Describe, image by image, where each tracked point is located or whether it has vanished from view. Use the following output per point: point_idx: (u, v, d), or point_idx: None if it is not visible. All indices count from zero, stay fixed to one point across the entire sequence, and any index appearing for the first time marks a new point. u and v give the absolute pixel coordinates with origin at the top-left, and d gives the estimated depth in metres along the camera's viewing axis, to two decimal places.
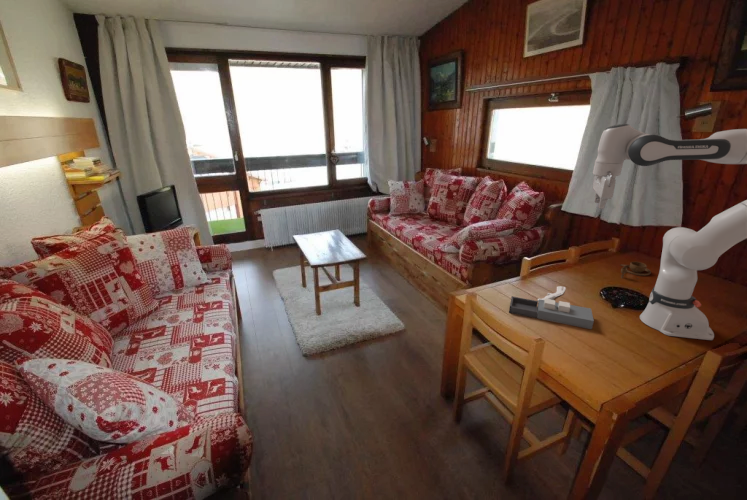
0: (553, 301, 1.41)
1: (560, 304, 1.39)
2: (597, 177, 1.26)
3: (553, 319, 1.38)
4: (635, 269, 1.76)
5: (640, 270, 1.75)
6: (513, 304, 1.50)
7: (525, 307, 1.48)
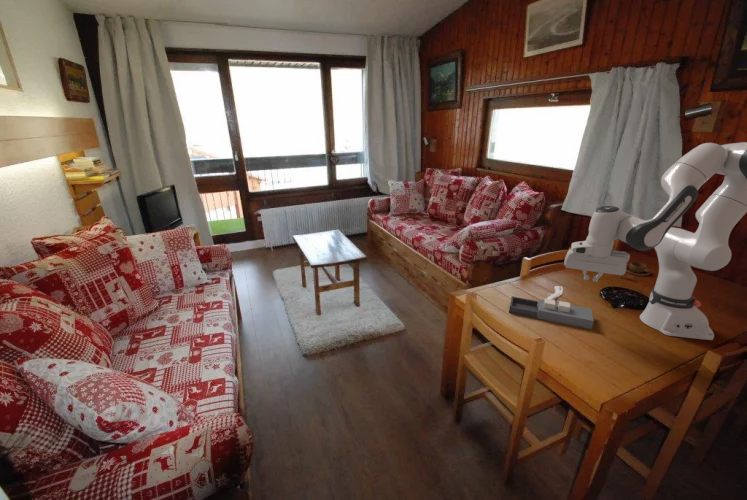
0: (553, 301, 1.41)
1: (560, 304, 1.39)
2: (601, 258, 1.24)
3: (553, 319, 1.38)
4: (634, 269, 1.76)
5: (639, 270, 1.75)
6: (513, 304, 1.50)
7: (525, 307, 1.48)
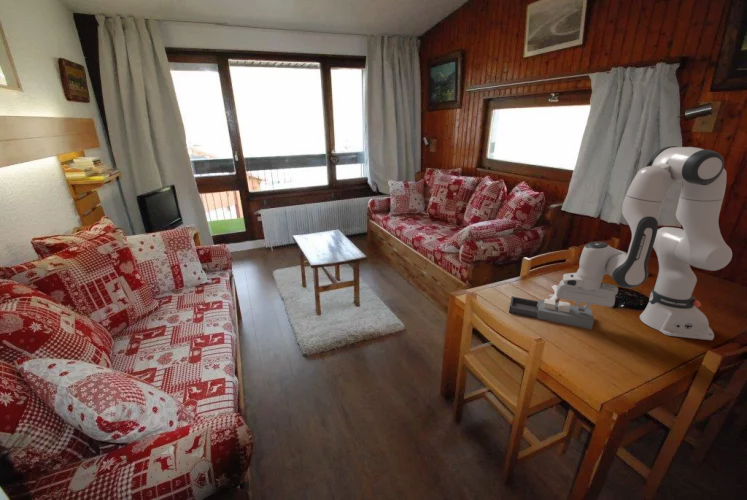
0: (553, 301, 1.41)
1: (560, 304, 1.39)
2: (591, 290, 1.30)
3: (553, 319, 1.38)
4: None
5: None
6: (513, 304, 1.50)
7: (525, 307, 1.48)
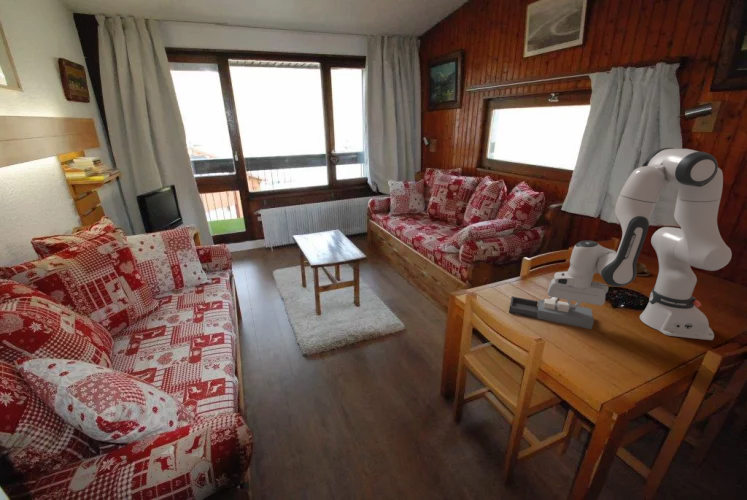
0: (553, 301, 1.41)
1: (559, 304, 1.39)
2: (582, 289, 1.31)
3: (553, 319, 1.38)
4: None
5: (638, 271, 1.75)
6: (513, 304, 1.50)
7: (525, 307, 1.48)
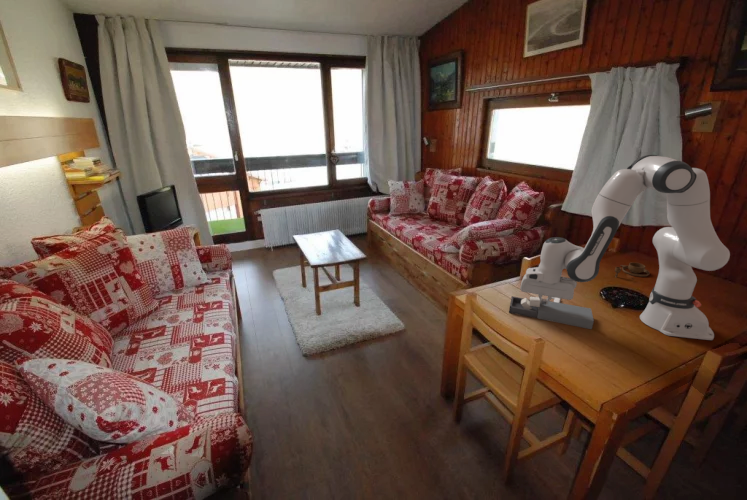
0: None
1: (530, 299, 1.43)
2: (551, 284, 1.35)
3: (553, 319, 1.38)
4: (632, 270, 1.76)
5: (637, 271, 1.74)
6: (513, 304, 1.50)
7: None
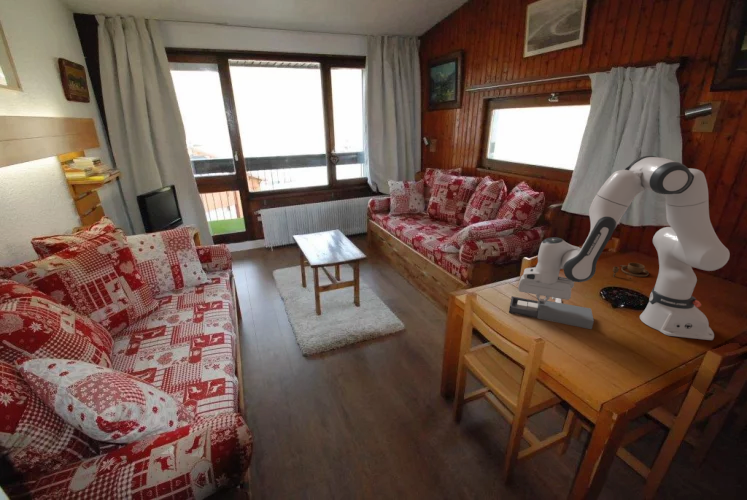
0: None
1: (528, 305, 1.45)
2: (549, 284, 1.36)
3: (553, 319, 1.38)
4: (631, 270, 1.76)
5: (636, 271, 1.74)
6: (513, 304, 1.50)
7: None
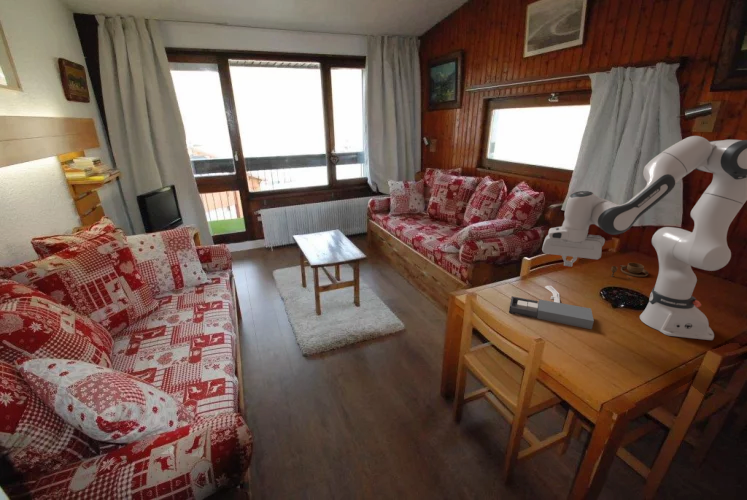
0: None
1: (528, 305, 1.45)
2: (577, 242, 1.26)
3: (553, 319, 1.38)
4: (631, 270, 1.76)
5: (635, 271, 1.74)
6: (513, 304, 1.50)
7: None
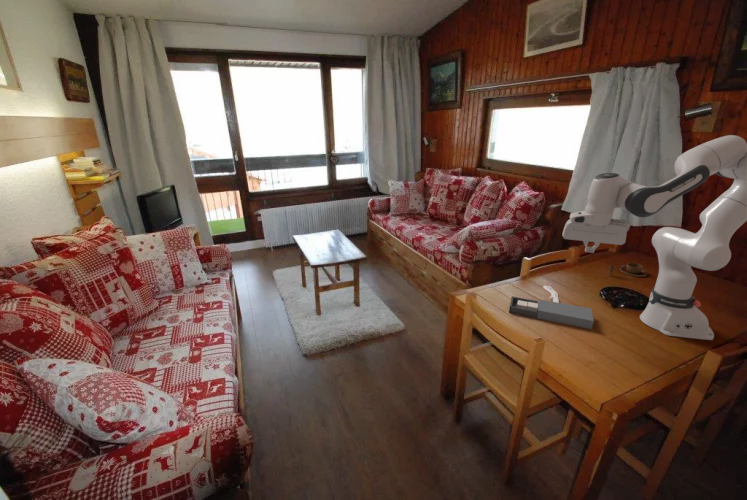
0: None
1: (528, 305, 1.45)
2: (601, 227, 1.21)
3: (553, 319, 1.38)
4: (629, 269, 1.76)
5: (634, 271, 1.74)
6: (513, 304, 1.50)
7: None
